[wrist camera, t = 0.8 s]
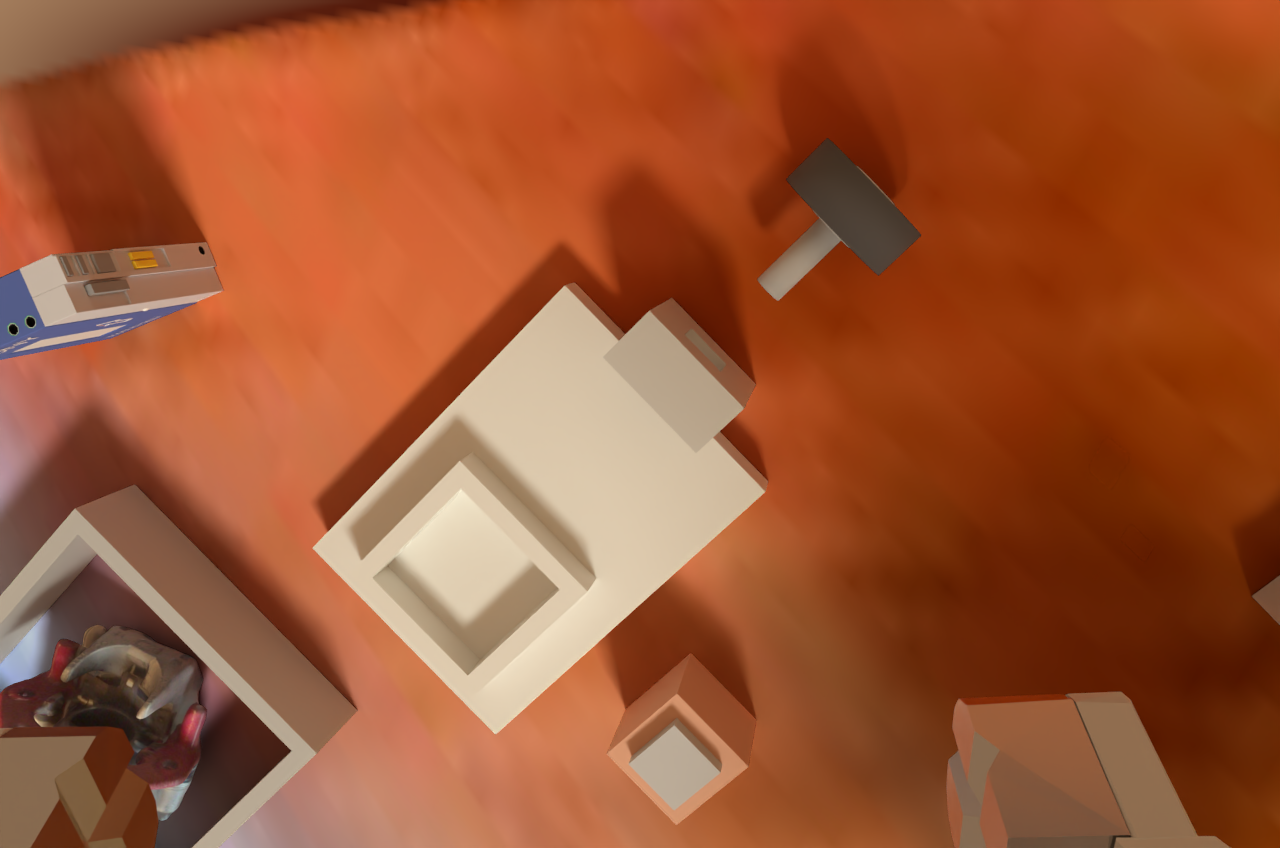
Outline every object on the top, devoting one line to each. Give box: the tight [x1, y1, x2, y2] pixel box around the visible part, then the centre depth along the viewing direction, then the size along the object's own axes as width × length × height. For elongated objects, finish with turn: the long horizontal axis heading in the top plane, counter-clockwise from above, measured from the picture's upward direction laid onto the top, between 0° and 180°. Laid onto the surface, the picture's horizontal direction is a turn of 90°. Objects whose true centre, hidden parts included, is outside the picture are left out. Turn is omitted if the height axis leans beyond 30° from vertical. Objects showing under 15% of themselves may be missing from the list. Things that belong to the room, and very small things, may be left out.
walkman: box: [0, 242, 223, 360], centre depth 54 cm, size 8×3×12 cm, turn 111°
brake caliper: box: [0, 625, 207, 821], centre depth 62 cm, size 11×11×12 cm
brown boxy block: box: [607, 653, 757, 825], centre depth 56 cm, size 5×5×6 cm
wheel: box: [757, 138, 921, 301], centre depth 49 cm, size 6×7×6 cm
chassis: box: [313, 282, 768, 735], centre depth 55 cm, size 14×23×6 cm, turn 135°
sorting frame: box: [0, 484, 358, 848], centre depth 63 cm, size 18×19×5 cm
